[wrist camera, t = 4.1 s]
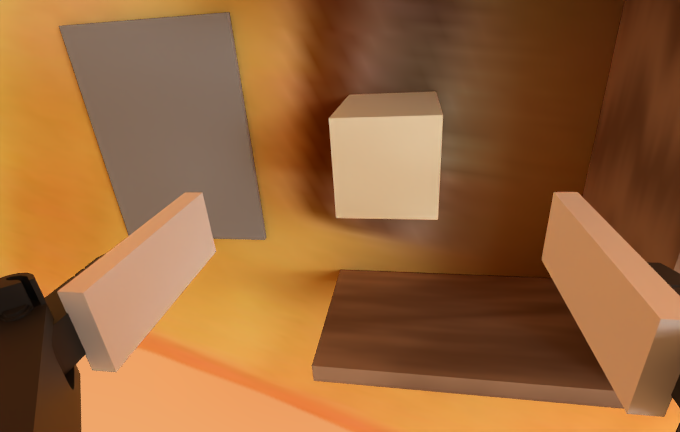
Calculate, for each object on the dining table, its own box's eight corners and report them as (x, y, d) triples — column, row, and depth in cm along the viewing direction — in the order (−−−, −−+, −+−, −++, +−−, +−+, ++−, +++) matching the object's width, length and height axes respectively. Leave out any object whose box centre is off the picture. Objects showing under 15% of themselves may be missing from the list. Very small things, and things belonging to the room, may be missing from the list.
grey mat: (63, 25, 27) (58, 26, 27) (229, 12, 25) (226, 12, 25) (132, 234, 34) (129, 236, 34) (266, 237, 32) (264, 239, 31)
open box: (314, -77, 22) (247, -140, 13) (678, -119, 19) (907, -239, 10) (341, 282, 33) (313, 380, 24) (579, 292, 29) (650, 411, 21)
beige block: (349, 94, 26) (328, 118, 20) (436, 91, 25) (443, 115, 19) (353, 174, 28) (336, 217, 22) (432, 174, 27) (438, 219, 21)
